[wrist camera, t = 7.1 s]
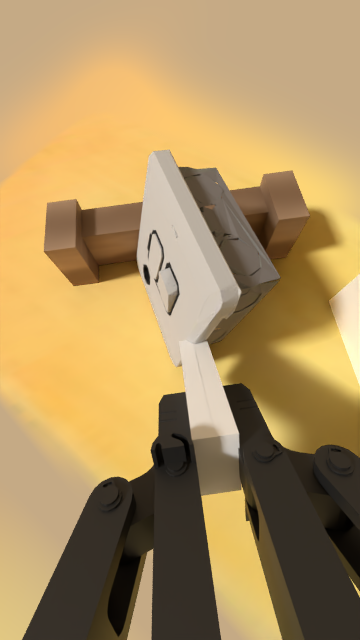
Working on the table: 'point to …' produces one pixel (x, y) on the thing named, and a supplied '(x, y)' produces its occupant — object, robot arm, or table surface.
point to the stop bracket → (124, 222)
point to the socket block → (349, 320)
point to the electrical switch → (197, 255)
